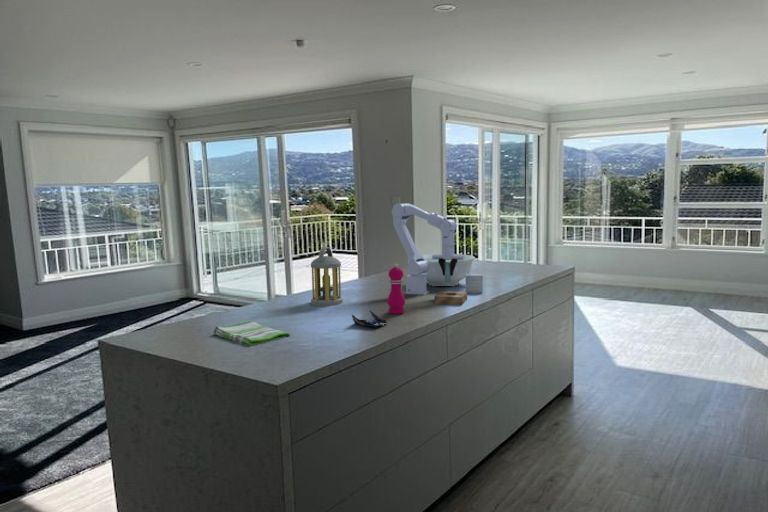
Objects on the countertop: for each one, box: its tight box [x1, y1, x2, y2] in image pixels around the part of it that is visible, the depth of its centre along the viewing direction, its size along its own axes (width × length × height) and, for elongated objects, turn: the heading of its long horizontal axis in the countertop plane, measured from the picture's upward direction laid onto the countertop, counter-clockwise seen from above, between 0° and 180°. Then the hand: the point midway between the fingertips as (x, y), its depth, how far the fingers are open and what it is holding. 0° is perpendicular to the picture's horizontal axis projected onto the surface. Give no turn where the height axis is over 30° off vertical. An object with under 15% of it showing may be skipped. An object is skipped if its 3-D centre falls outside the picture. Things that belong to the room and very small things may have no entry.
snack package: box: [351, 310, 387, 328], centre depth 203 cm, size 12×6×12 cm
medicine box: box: [465, 273, 484, 294], centre depth 263 cm, size 8×4×9 cm, turn 84°
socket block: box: [434, 290, 468, 306], centre depth 243 cm, size 12×12×4 cm
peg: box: [445, 262, 451, 282], centre depth 254 cm, size 3×3×9 cm
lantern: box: [310, 246, 344, 307], centre depth 245 cm, size 14×14×25 cm
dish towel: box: [212, 320, 291, 347], centre depth 193 cm, size 17×23×4 cm
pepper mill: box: [386, 263, 406, 315], centre depth 223 cm, size 7×7×20 cm
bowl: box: [421, 253, 476, 287], centre depth 286 cm, size 32×32×15 cm
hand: (447, 275), depth 255 cm, fingers closed on peg, 3 cm apart
